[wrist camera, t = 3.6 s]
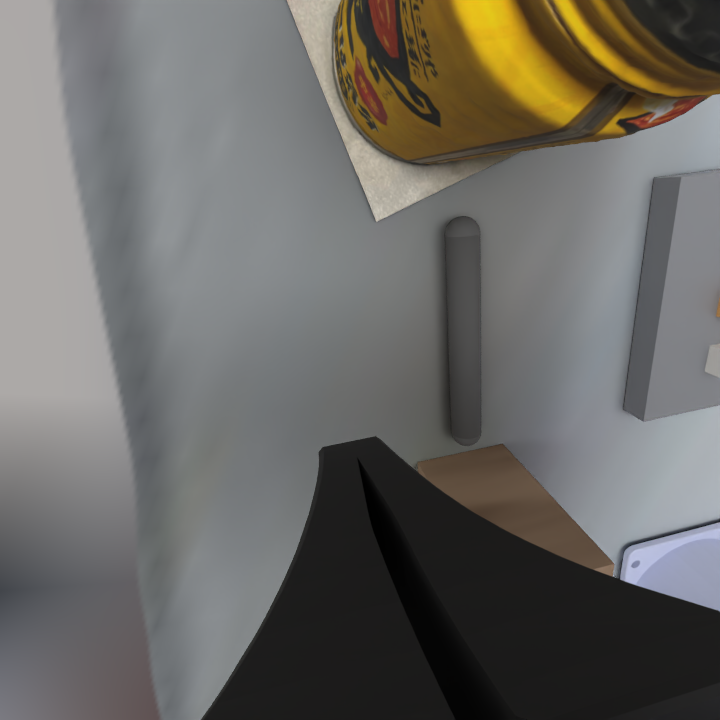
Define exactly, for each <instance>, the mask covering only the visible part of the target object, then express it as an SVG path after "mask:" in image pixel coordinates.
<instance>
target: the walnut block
mask: <svg viewBox="0 0 720 720" xmlns="http://www.w3.org/2000/svg"><path fill="white" fill-rule="evenodd" d="M418 473H419V474H421V475H422V476H423V477H425V478H426V479H427V480H428V481H430V482H431V483H432V484H434V485H435V486H436V487H438V488H439V489H440V490H442V491H443V492H444V493H446V494H447V495H449V496H450V497H452V498H453V499H454V500H456V501H457V502H459V503H460V504H462V505H463V506H465V507H466V508H468V509H469V510H471V511H473V512H474V513H476V514H478V515H479V516H481V517H483V518H485V519H486V520H488V521H490V522H492V523H494V524H495V525H497V526H499V527H501V528H502V529H504V530H506V531H508V532H510V533H512V534H514V535H516V536H518V537H520V538H522V539H524V540H526V541H528V542H530V543H532V544H535V545H537V546H539V547H541V548H543V549H545V550H548V551H550V552H552V553H554V554H556V555H559V556H561V557H563V558H566V559H568V560H571V561H573V562H575V563H578V564H580V565H583V566H585V567H588V568H590V569H593V570H596V571H598V572H601V573H604V574H607V575H609V576H612V577H613V570H614V563H613V562H612V561H611V560H610V559H609V558H608V556H607V555H606V554H605V553H604V552H603V551H602V550H601V549H600V548H599V547H598V546H597V545H596V544H595V543H594V541H593V540H592V539H591V538H590V537H589V536H588V535H587V534H586V533H585V532H584V531H583V530H582V529H581V527H580V526H579V525H578V524H577V523H576V522H575V521H574V520H573V519H572V518H571V517H570V516H569V515H568V514H567V512H566V511H565V510H564V509H563V508H562V507H561V506H560V505H559V504H558V503H557V502H556V501H555V500H554V499H553V497H552V496H551V495H550V494H549V493H548V492H547V491H546V490H545V489H544V488H543V487H542V486H541V485H540V483H539V482H538V481H537V480H536V479H535V478H534V477H533V476H532V475H531V474H530V473H529V472H528V471H527V470H526V468H525V467H524V466H523V465H522V464H521V463H520V462H519V461H518V460H517V459H516V458H515V457H514V456H513V454H512V453H511V452H510V451H509V450H508V449H507V448H506V447H505V446H504V445H503V444H500V445H495V446H490V447H486V448H481V449H476V450H472V451H467V452H462V453H458V454H453V455H449V456H444V457H439V458H435V459H430V460H425V461H421V462H418Z"/></svg>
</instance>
